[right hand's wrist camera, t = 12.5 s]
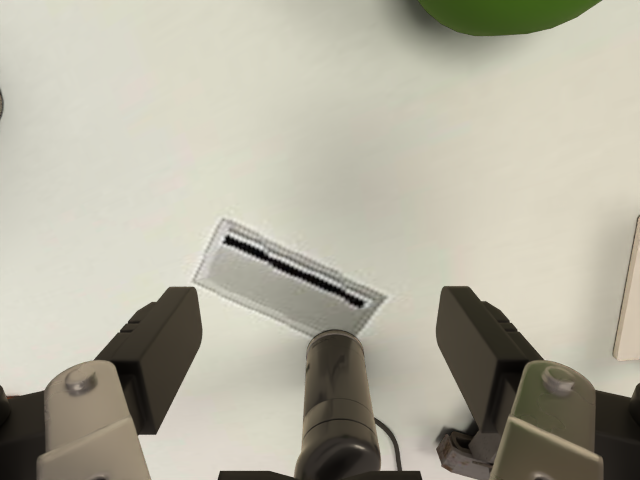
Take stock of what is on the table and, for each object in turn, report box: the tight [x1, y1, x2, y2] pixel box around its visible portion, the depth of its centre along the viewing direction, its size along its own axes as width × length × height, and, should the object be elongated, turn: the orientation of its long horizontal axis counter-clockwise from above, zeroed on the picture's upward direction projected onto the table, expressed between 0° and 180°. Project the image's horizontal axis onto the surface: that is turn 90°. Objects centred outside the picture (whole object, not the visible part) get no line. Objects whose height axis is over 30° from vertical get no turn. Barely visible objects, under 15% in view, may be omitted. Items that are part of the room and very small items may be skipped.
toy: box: [436, 430, 501, 480], centre depth 55 cm, size 25×20×15 cm
